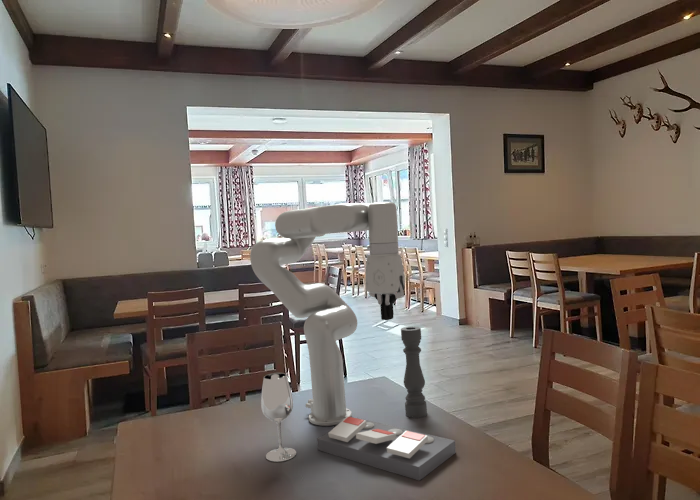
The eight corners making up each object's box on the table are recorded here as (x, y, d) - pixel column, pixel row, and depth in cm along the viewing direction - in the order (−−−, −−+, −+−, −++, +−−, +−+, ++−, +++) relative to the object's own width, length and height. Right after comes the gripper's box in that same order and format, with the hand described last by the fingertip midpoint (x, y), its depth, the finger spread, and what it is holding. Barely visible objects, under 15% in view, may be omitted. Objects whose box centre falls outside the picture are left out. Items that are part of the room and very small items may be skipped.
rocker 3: (387, 452, 120) (386, 447, 120) (406, 435, 126) (405, 429, 126) (409, 458, 116) (408, 453, 116) (428, 440, 122) (427, 435, 122)
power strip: (305, 446, 136) (304, 433, 136) (345, 425, 148) (344, 413, 148) (419, 480, 113) (418, 465, 113) (455, 452, 126) (454, 439, 126)
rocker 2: (355, 438, 126) (356, 432, 126) (376, 433, 132) (376, 428, 132) (376, 443, 122) (376, 437, 122) (396, 438, 128) (396, 433, 128)
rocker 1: (329, 437, 132) (328, 432, 131) (348, 420, 138) (347, 415, 137) (347, 442, 128) (346, 437, 127) (366, 424, 134) (365, 420, 133)
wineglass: (302, 449, 134) (296, 371, 133) (288, 463, 126) (282, 381, 125) (274, 447, 136) (268, 371, 135) (259, 460, 129) (253, 380, 128)
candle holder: (426, 418, 149) (420, 330, 148) (404, 417, 150) (398, 331, 149) (427, 410, 155) (422, 326, 154) (406, 410, 157) (401, 326, 155)
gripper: (353, 250, 140) (356, 319, 141) (398, 250, 130) (402, 324, 131) (370, 248, 146) (374, 314, 147) (416, 248, 136) (419, 319, 137)
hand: (387, 319), depth 139 cm, fingers closed
